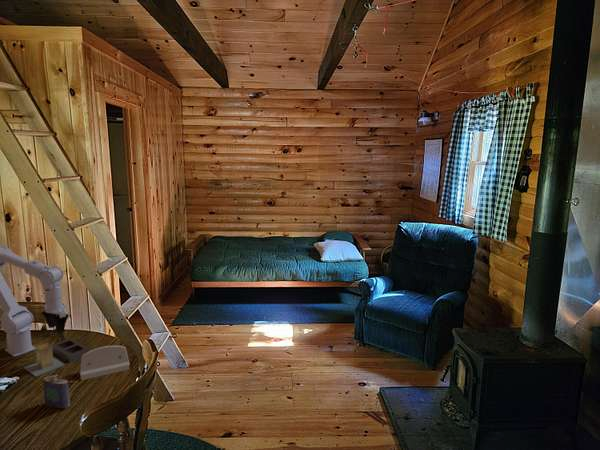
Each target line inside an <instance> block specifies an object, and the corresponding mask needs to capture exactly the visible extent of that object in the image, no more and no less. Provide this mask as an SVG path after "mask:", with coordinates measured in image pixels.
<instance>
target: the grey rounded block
mask: <svg viewBox="0 0 600 450" xmlns="http://www.w3.org/2000/svg"><path fill="white" fill-rule="evenodd" d="M128 356H129V355H128V352H127V349H126V346H123V345H113V344H112V345H105V346H99V347H96V348H93V349H90V351H88V352H87V353H85V354H83V355H82V357H81V358H80V368H79V369H80V371H79V376H80V380H81V381H84V380H89V379H93V378H98V377H102V376H106V375H107V376H108V375H110V374H114V373H119V372H124V371H128V370H129V371H130V360H129V357H128Z"/></svg>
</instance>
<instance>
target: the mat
mask: <svg viewBox="0 0 600 450" xmlns="http://www.w3.org/2000/svg"><path fill="white" fill-rule="evenodd" d="M53 362H54V365H52V366H50V367H47V368H45V369H41V368H39V367H38V366H37V362H35V363H32V364H30V365H27V366H24V367H23V369H24V370H26V371H27V372H28V373H29V374H31V375H32V376H34V377H35V378H36V377H40V376H42V375H45V374H47V373H49V372H52V371H54V370H57V369H59V368H61V367H64V366H65V365H66V364H65V363H64V362H62V361H60V360H59V359H58V358H56V357H54V356H53Z"/></svg>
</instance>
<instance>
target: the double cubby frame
mask: <svg viewBox="0 0 600 450" xmlns="http://www.w3.org/2000/svg"><path fill="white" fill-rule="evenodd" d="M51 345H52V352H53V354H55V355H57V356H59V357H60V358H61V359H64V360H65V361H67V362H68V363H73V362H76V361H78V360H81V357H82V355H83V354H85V353H87V352H88V351H91V349H90V347H87V346H86V345H84V344H83V343H81V342H79V341H78V340H75V339H73V338H72V337H70V338H67V339H64V340H60V341H58V342H55V343H53V344H51Z"/></svg>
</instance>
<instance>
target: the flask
mask: <svg viewBox="0 0 600 450" xmlns="http://www.w3.org/2000/svg"><path fill="white" fill-rule="evenodd" d="M58 377H59V375H58V374H57V373H56V374H55V375H53V374H52V375H49V376H45V377H44V378H43V379H42V382H43V392H44V393H43V396H44V406H46V407H49V408H53V409H56V410H57V409H59V410H67V409H68V408H69V407H71V401H70V391H69V380H67V379H62V378H60V379H59V378H58Z"/></svg>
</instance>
